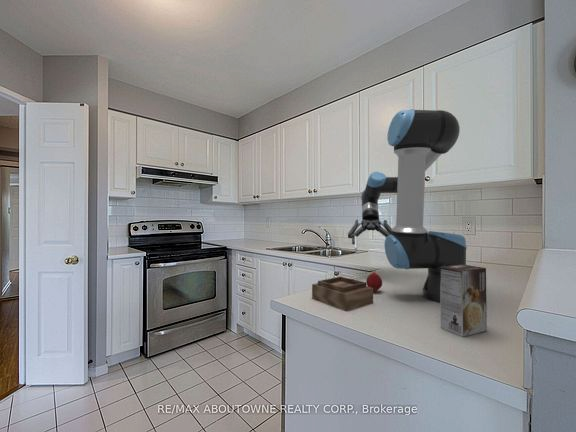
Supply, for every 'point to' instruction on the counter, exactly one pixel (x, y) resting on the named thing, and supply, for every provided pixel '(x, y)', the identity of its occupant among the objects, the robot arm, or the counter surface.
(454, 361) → the counter surface
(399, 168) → the robot arm
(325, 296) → the stand
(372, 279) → the onion
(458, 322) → the coffee box
